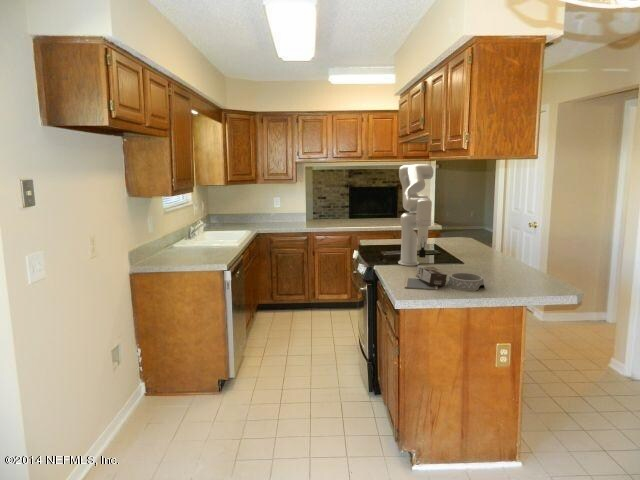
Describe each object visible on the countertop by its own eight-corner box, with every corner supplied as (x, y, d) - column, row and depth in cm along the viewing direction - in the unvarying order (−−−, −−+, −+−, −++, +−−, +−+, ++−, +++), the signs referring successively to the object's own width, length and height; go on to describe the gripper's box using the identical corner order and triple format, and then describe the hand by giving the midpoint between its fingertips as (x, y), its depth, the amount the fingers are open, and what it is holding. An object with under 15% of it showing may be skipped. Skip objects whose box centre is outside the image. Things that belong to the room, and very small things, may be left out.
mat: (406, 279, 245) (406, 277, 244) (436, 280, 241) (436, 279, 241) (404, 288, 227) (404, 287, 227) (437, 290, 224) (437, 289, 224)
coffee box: (415, 276, 242) (428, 285, 227) (417, 265, 241) (430, 273, 226) (431, 278, 245) (445, 286, 229) (433, 266, 243) (447, 274, 228)
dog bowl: (490, 286, 232) (490, 276, 231) (472, 293, 219) (473, 282, 218) (459, 279, 244) (460, 270, 243) (441, 286, 231) (441, 276, 231)
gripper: (416, 220, 246) (415, 254, 249) (415, 224, 232) (414, 259, 235) (430, 221, 245) (429, 254, 248) (431, 225, 230) (429, 260, 233)
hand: (422, 257), depth 241 cm, fingers closed
